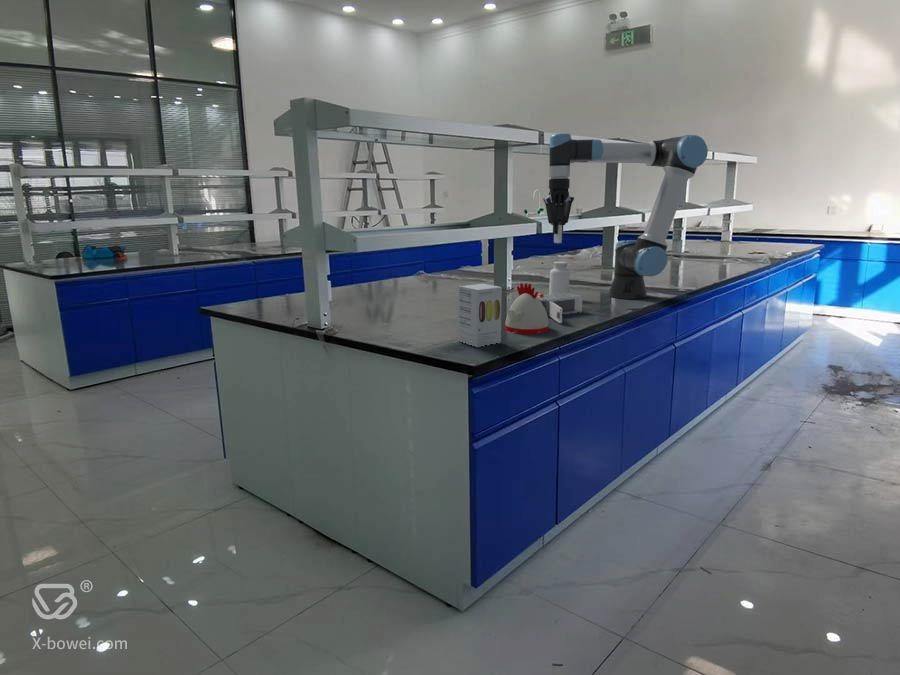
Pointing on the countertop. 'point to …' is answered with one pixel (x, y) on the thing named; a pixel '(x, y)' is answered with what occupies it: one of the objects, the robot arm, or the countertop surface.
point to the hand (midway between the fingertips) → (557, 242)
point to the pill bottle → (559, 278)
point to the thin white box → (555, 312)
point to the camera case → (562, 302)
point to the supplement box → (480, 314)
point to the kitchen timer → (527, 313)
